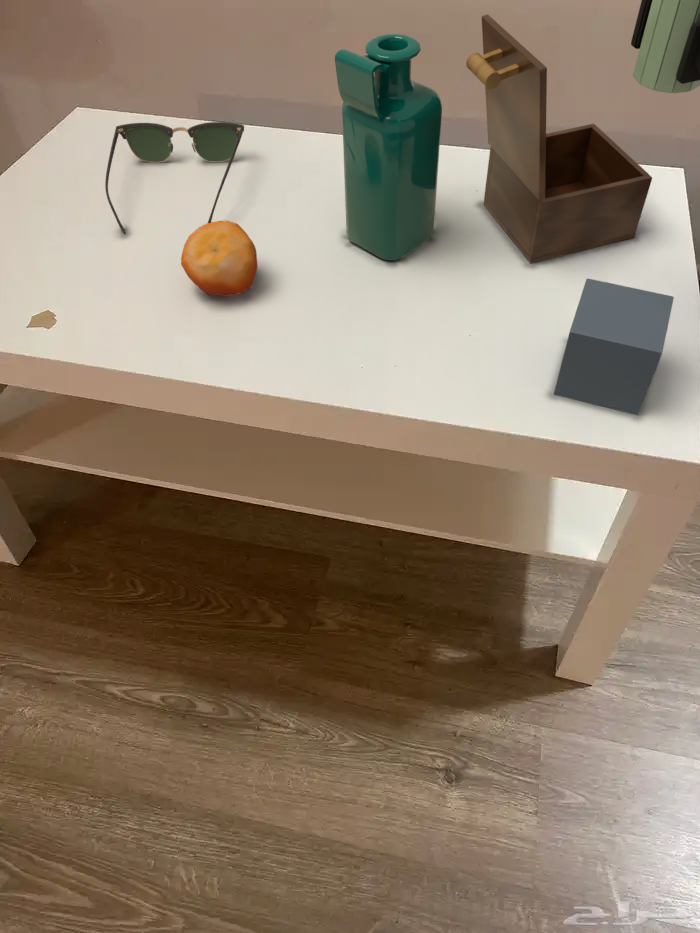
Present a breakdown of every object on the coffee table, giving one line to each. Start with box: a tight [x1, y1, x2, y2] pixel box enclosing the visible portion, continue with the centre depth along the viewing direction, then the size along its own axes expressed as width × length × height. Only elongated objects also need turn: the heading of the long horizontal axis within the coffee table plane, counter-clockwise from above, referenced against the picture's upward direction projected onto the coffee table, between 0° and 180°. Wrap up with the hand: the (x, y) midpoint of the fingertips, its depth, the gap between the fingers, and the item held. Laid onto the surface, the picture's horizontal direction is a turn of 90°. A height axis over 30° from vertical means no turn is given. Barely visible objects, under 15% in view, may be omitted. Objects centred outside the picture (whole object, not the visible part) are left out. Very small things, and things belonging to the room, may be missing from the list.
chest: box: [483, 123, 653, 264], centre depth 90 cm, size 13×12×8 cm
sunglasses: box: [104, 121, 245, 234], centre depth 97 cm, size 16×17×5 cm
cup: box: [632, 0, 700, 94], centre depth 58 cm, size 5×5×6 cm
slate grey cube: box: [553, 278, 675, 416], centre depth 74 cm, size 8×8×8 cm
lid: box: [465, 13, 548, 201], centre depth 80 cm, size 14×12×4 cm
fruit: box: [180, 220, 258, 297], centre depth 85 cm, size 8×8×8 cm
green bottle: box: [334, 33, 443, 261], centre depth 83 cm, size 10×8×22 cm
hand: (672, 58), depth 59 cm, fingers closed on cup, 5 cm apart
